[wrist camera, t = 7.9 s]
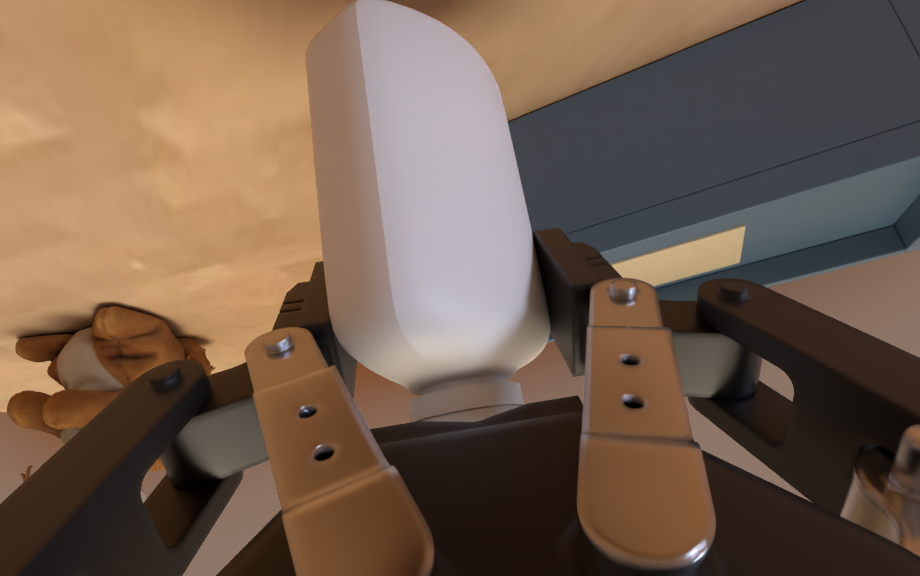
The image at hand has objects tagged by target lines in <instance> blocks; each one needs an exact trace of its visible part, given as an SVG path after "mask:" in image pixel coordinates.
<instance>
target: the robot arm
mask: <svg viewBox="0 0 920 576" xmlns="http://www.w3.org/2000/svg"><path fill="white" fill-rule="evenodd" d="M532 235H533V239H534V244H535V248H536V253H537V257H538V262H539V267H540V271H541V276H542V281H543V286H544V291H545V296H546V301H547V306H548V311H549V318H550V333H551V335H552V337H553V339H554V340H555V342H556V344H557V346H558V348H559V350H560V352H561V354H562V356H563V358H564V360H565V361H566V363H567V365H568V367H569V369H570V371H571V373H572V375H573V376H574V377H575V376H580V375H585V379H584V398H583V404H582V402H581V400H580V398H579V396H572V397H566V398H560V399H553V400H548V401H541V402H535V403H530V404H525V405H522V406H520V407H517V408H514V409H511V410H508V411H505V412H503V413H500V414H497V415H494V416H491V417H488V418H486V419H483V420H480V421H475V422H441V421H418V422H412V423H406V424H400V425H394V426H388V427H382V428H376V429H369V428H368V425H367V424H366V422H365V420H364V418H363V416H362V415H361V413H360V411H359V409H358V407H357V405H356V403H355V401H354V400H353V398H354V388H355V377H356V368H357V367H356V366H357V360H356V359H354V358H353V357H352V356H351V355H350V354H348V352H347V351H346V350H345V349H344V348H343V347H342V345H341V344H340V343H339V341H338V339H337V337H336V335H335V333H334V331H333V328H332V323H331V319H330V315H329V308H328V299H327V290H326V281H325V273H324V264H323V261H322V262H316V264H315V267H314V270H313V273H312V276H311V279H310V281H308V282H302V283H298V284H297V285H295V286H294V287H293V288H292V289H291V290H290V291H289V292H287V294H286V296H285V299H284V301H283V305H282V307H281V309H280V313H279V314H278V317H277V319H276V322H275V325H274V327H273V330H272V331H270V332H268V333H265V334H263V335H261V336H259V337H258V338H256V339H255V340H253V341H252V342H251V343H250V344H249V345H248V346H247V348H246V349H245V358H246V362H245V363H243V364H241V365H239V366H236V367H234V368H231V369H228V370H225V371H222V372H219V373H216V374H212V375H209V376H207V374H206V371H205V368H204V366H203V364H202V363H201V362H199V361H197V360H192V359H184V360H176V361H172V362H168V363H165V364H162V365H159V366H157V367H155V368H152V369H150V370H149V371H147V372H145V373H143V374H142V375H141V376H139V377H138V378H137V379H135V380H134V381H133V382H132V383H131V384H130V385H129V386H128V387H127V388H126V389H125V390H124V391H122V392H121V393H120V394H119V395H118V396H117V397H116V398H115V399H114V400H113V401H112V402H110V403H109V404H108V405H107V406H106V407H105V408H104V409H103V410H102V411H101V412H100V413H99V414H97V415H96V416H95V417H94V418H93V419H92V420H91V421H90V422H89V423H88V424H87V425H86V426H84V427H83V428H82V429H81V430H80V431H79V432H78V433H77V434H76V435H75V436H74V437H73V438H71V439H70V440H69V441H68V442H67V443H66V444H65V445H64V446H63V447H62V448H61V449H60V450H59V451H57V453H55V454H54V455H53V456H52V457H51V458H50V459H49V460H48V461H46V462H45V463H44V464H43V465H42V466H41V467H40V468H39V469H38V470H37V471H36V472H35V473H33V474H32V475H31V476H30V477H29V478H28V479H27V480H26V481H25V482H24V483H23V484H22V485H20V486H19V487H18V488H17V489H16V490H15V491H14V492H13V493H12V494H11V495H10V496H9V497H8V498H6V499H5V500H4V501H3V502H2V503H1V504H0V576H182V575H183V573H184V572H185V570H186V569H187V567H188V566H189V564H190V562H191V560H192V559H193V557H194V556H195V554H196V553H197V551H198V549H199V548H200V546H201V545H202V543H203V542H204V540H205V538H206V537H207V535H208V534H209V532H210V530H211V529H212V527H213V525H214V524H215V522H216V521H217V519H218V518H219V516H220V514H221V513H222V511H223V510H224V508H225V506H226V505H227V503H228V502H229V500H230V498H231V497H232V495H233V494H234V492H235V490H236V489H237V487H238V486H239V484H240V482H241V480H242V478H243V470H245V469H247V468H249V467H252V466H255V465H257V464H259V463H262V462H264V461H267V460H269V461H270V465H271V469H272V473H273V477H274V481H275V485H276V489H277V493H278V497H279V501H280V505H281V510H280V511H279V512H278V514H276V516H274V517H273V518H272V520H271V521H270V522H269V523H268V524H267V525H266V526H265V527H264V528H263V529H262V530H261V531H260V532H259V533H258V534H257V535H256V536H255V537H254V538H253V539H252V540H251V541H250V542H249V543H248V544H247V545H246V546H245V547H244V548H243V549H242V550H241V551H240V552H239V553H238V554H237V555H236V556H235V557H234V558H233V559H232V560H231V561H230V562H229V563H228V564H227V565H226V566H225V567H224V568H223V569H222V570H221V571H220V572H219V573H218V574H217V575H216V576H920V358H919V357H917V356H915V355H912V354H910V353H908V352H906V351H903V350H901V349H899V348H897V347H895V346H893V345H890V344H888V343H886V342H884V341H882V340H880V339H877V338H875V337H873V336H871V335H869V334H867V333H864V332H862V331H860V330H858V329H856V328H853V327H851V326H849V325H847V324H845V323H843V322H840V321H838V320H836V319H834V318H832V317H830V316H827V315H825V314H823V313H821V312H819V311H816V310H814V309H812V308H809V307H808V306H806V305H803V304H801V303H799V302H797V301H795V300H792V299H790V298H788V297H786V296H784V295H782V294H779V293H777V292H775V291H773V290H771V289H769V288H766V287H764V286H762V285H760V284H757V283H755V282H751V281H748V280H743V279H735V278H719V279H713V280H709V281H706V282H704V283H702V284H701V285H700V286H699V287H698V291H697V301H668V300H659V299H658V295H657V291H656V289H655V288H654V287H653V286H652V285H651V284H649V283H647V282H645V281H642V280H638V279H632V278H623V277H622V276H621V275H620V274H619V273H618V272H617V271H616V270H615V269H614V268H613V267H612V266H611V265H610V264H609V262H608V261H607V260H606V259H605V258H603V256H602V255H601V254H600V253H599V252H598V251H597V249H596V248H594V247H592V246H589V245H587V244H585V243H582V242H577V243H572V242H571V241H570V240H569V238H568V237H567V236H566V235H565V234H564V233H563V231H562V230H561V229H560V228H552V229H545V230H538V231H532ZM762 358H764V359H765V360H767V361H769V362H770V363H772V364H774V365H775V366H777V367H779V368H780V369H782V370H783V371H784V372H785V373H786V374H787V375H788V377H789V378H790V380H791V382H792V384H793V387H794V398H793V402H792V401H790V400H789V399H787V398H785V397H784V396H782V395H780V394H779V393H778V392H776V391H775V390H773V389H771V388H770V387H768V386H767V385H765V384H764V383H762V382H761V381H759V375H760V369H761V363H762ZM685 396H687V397H688V400H689V403H690V404H691V405H692V406H693V407H694V408H695V409H696V410H697V411H699V412H700V413H701V414H702V415H704V416H705V417H706V418H708V419H709V420H710V421H711V422H712V423H714V424H715V425H716V426H717V427H719V428H720V429H721V430H722V431H724V432H725V433H726V434H727V435H729V436H730V437H731V438H732V439H734V440H735V441H736V442H737V443H739V444H740V445H741V446H742V447H744V448H745V449H746V450H747V451H749V452H750V453H751V454H752V455H754V456H755V457H756V458H757V459H759V460H760V461H761V462H763V463H764V464H765V465H766V466H768V467H769V468H770V469H771V470H773V471H774V472H775V473H776V474H778V475H779V476H780V477H781V478H783V479H784V480H785V481H786V482H788V483H789V484H790V485H791V486H793V487H794V488H795V489H796V490H798V491H799V492H800V493H801V494H803V495H804V496H805V497H806V498H808V499H809V500H810V501H812V502H813V503H812V502H810V501H808V500H806V499H803V498H801V497H799V496H797V495H795V494H793V493H791V492H789V491H787V490H785V489H782V488H780V487H778V486H776V485H774V484H772V483H770V482H768V481H766V480H764V479H762V478H759V477H757V476H755V475H753V474H751V473H749V472H747V471H745V470H743V469H741V468H739V467H736V466H734V465H732V464H730V463H728V462H726V461H724V460H722V459H720V458H718V457H716V456H713V455H711V454H709V453H707V452H705V451H703V450H701V448H700V445H699V444H698V443H697V442H695V441H694V439H693V436H692V430H691V426H690V421H689V416H688V411H687V406H686V401H685ZM158 458H160V460H161V462H162V464H163V466H164V469H165V471H166V473H167V474H166V475H165V477H164V478H163V479H162V480H161V482H160V483H159V484H158V485H157V487H156V488H155V489H154V491H153V492H152V493H151V494H150V496H149V497H148V498H147V499H146V500H145V502H144V503H143V502H142V499H141V485H142V481H143V479H144V476H145V474H146V473H147V471H148V470H149V469H150V468H151V466H152V465H153V464H154V463H155V462H156V460H157V459H158Z"/></svg>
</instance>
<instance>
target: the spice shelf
mask: <svg viewBox="0 0 920 576" xmlns="http://www.w3.org/2000/svg"><path fill="white" fill-rule="evenodd" d="M508 126H509V131H510V135H511V140H512V144H513V149H514V153H515V157H516V162H517V166H518V171H519V175H520V180H521V184H522V189H523V193H524V198H525V202H526V207H527V211H528V216H529V220H530V225H531V230H532V231H538V230H545V229H552V228H560V229H561V230H562V231H563V233H564V234H565V235H566V236H567V237H568V238H569V240H570V241H571V242H572V243H577V242H582V243H585V244H587V245H589V246H592V247H594V248H596V249H597V251H598V252H599V253H600V254H601V255H602V256H603V258H605V259H606V260H607V261H608V262H609V264H610V265H611V266H612V267H613V268H614V269H615V270H616V271H617V272H618V273H619V274H620V275H621V276H622V277H623V278H632V279H638V280H642V281H645V282H647V283H649V284H651V285H652V286H653V287H654V288H655V289H656V291H657V295H658V299H659V300H668V301H697V291H698V287H699V286H700V285H701V284H702V283H704V282H706V281H709V280H713V279H719V278H735V279H743V280H748V281H751V282H755V283H757V284H760V285H762V286H764V287H766V288H767V287H771V286H775V285H779V284H783V283H787V282H791V281H795V280H799V279H803V278H807V277H811V276H815V275H819V274H823V273H827V272H831V271H835V270H839V269H842V268H846V267H851V266H855V265H858V264H863V263H867V262H870V261H874V260H878V259H882V258H886V257H890V256H894V255H898V254H901V253H906V252H910V251H914V250H918V249H920V0H805V1H803V2H800V3H798V4H796V5H793V6H791V7H788V8H786V9H783V10H781V11H779V12H776V13H774V14H771V15H769V16H766V17H764V18H761V19H759V20H757V21H754V22H752V23H749V24H747V25H744V26H742V27H740V28H737V29H735V30H732V31H730V32H727V33H725V34H722V35H720V36H718V37H715V38H713V39H710V40H708V41H705V42H703V43H701V44H698V45H696V46H693V47H691V48H688V49H686V50H683V51H681V52H679V53H676V54H674V55H671V56H669V57H666V58H664V59H662V60H659V61H657V62H654V63H652V64H649V65H647V66H645V67H642V68H640V69H637V70H635V71H632V72H630V73H627V74H625V75H623V76H620V77H618V78H615V79H613V80H610V81H608V82H606V83H603V84H601V85H598V86H596V87H593V88H591V89H588V90H586V91H584V92H581V93H579V94H576V95H574V96H571V97H569V98H567V99H564V100H562V101H559V102H557V103H554V104H552V105H549V106H547V107H545V108H542V109H540V110H537V111H535V112H532V113H530V114H528V115H525V116H523V117H520V118H518V119H515V120H513V121H511V122H508ZM553 341H555V340H554V339H553V337H552V335H551V333H550V335H549V338H548V341H547V343H549V342H553Z"/></svg>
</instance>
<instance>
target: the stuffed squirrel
mask: <svg viewBox="0 0 920 576" xmlns="http://www.w3.org/2000/svg"><path fill="white" fill-rule="evenodd" d="M205 351H206V350H205V349H203V348H201V347H200V345H198V344H197V342H196V341H193V340H190V339H187V338H176V337H175V336H174V335H173V333H172V332H171V331H170V329H169V327H168V325H167V324H166V323H165V322H164V321H163V320H161V319H159V318H157V317H154V316H151V315H148V314H144V313H141V312H137V311H134V310H129V309H125V308H122V307H119V306H112V307H104V308H101V309H100V310H99V311H98V312H97V313H96V316H95V318H94V323H93V327H90V328H86V329H83V330H80V331H78V332H76V333H75V334H74V335H73V334H58V335H47V336H36V337H25V338H21V339H19V340H18V342H17V343H16V353H17V354H18V355H19V356H20V357H22V358H23V359H26V360H30V361H33V362H44V361H52V362H51V364H50V366H49V367H48V371H47V372H48V375H49V376H50V377H51V378H53V379H54V380H55V381H56V382H58V383H59V384H60V385H62V386H63V387H64V388H65V389H66V390H63V391H60V392H56V393H54V394H53V395H52V396H50V395H48V394H45V393H42V392H35V391H23V392H21V393H18V394H15V395H14V396H13V397H11V398H10V400H9V403H8V406H7V413H8V415H9V417H10V418H11V419H12V420H13V422H14V423H15V424H16V425H17V426H19V427H23V428H29V429H34V430H39V431H43V432H47V433H50V434H53V435H55V436H57V437H58V438H61V439H62V441H63V442H64V443H65V444H66V443H67V442H68V441H69V440H70V439H71V438H73V437H74V436H75V435H76V434H77V433H78V432H79V431H80V430H81V429H82V428H83V427H84V426H86V425H87V424H88V423H89V422H90V421H91V420H92V419H93V418H94V417H95V416H96V415H97V414H99V413H100V412H101V411H102V410H103V409H104V408H105V407H106V406H107V405H108V404H109V403H110V402H112V401H113V400H114V399H115V398H116V397H117V396H118V395H119V394H120V393H121V392H122V391H124V390H125V389H126V388H127V387H128V386H129V385H130V384H131V383H132V382H133V381H134V380H135V379H137V378H138V377H139V376H141V375H142V374H143V373H145V372H147V371H149V370H150V369H152V368H155V367H157V366H159V365H162V364H165V363H168V362H172V361H176V360H184V359H192V360H197V361H199V362H201V363H202V364H203V366H204V368H205V371H206V374H207V376H209V375H210V374H211V371H212V370H214V369H215V367H214V368H213V366H210V362H209V361H208V359H207V358H206V355H205ZM31 468H32V466H31V465H30V466H28V467H27V470H26V475H25V474H20V475H21V476H22V478H23V481H24V482H25V481H26V480H27V479H28V478H29V475H30V470H31ZM157 470H163V471H165V469H164V466H163V464H162V462H161V460H160V458H158V459H157V460H156V462H155V463H154V464H153V465H152V466H151V468H150V469H149V471H154V472H156V471H157ZM141 499H142V502H143V503H144V502H145V500H146V499H147V496H146V495H145V494H144V492H143V490H142V489H141Z"/></svg>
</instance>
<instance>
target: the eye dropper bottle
mask: <svg viewBox="0 0 920 576" xmlns="http://www.w3.org/2000/svg"><path fill="white" fill-rule="evenodd" d="M306 69H307V81H308V93H309V105H310V117H311V129H312V140H313V152H314V164H315V175H316V187H317V198H318V209H319V220H320V231H321V242H322V253H323V264H324V273H325V281H326V290H327V299H328V308H329V315H330V319H331V323H332V328H333V331H334V333H335V335H336V337H337V339H338V341H339V343H340V344H341V345H342V347H343V348H344V349H345V350H346V351H347V352H348V354H350V355H351V356H352V357H353V358H354V359H356V360H357V361H358V362H360V363H361V364H363V365H364V366H366V367H367V368H369V369H370V370H372V371H374V372H375V373H377V374H379V375H381V376H383V377H385V378H387V379H389V380H391V381H393V382H396V383H398V384H400V385H402V386H404V387H405V388H406V389H408V390H409V391H410V392H411V393H413V394H415V395H421V396H419V397H416V398H414V399H412V400H410V401H409V402H408V408H409V416H410V423H412V422H418V421H441V422H475V421H480V420H483V419H486V418H488V417H491V416H494V415H497V414H500V413H503V412H505V411H508V410H511V409H514V408H517V407H520V406H522V405H524V402H523V397H522V392H521V387H520V384H519V383H516V382H505V381H507V380H509V379H510V378H512V377H513V376H514V374H515V372H516V371H517V369H519V368H521V367H523V366H524V365H526V364H528V363H529V362H531V361H532V360H533V359H535V358H536V357H537V356H538V355H539V354H540V353H541V351H542V350H543V349H544V347H545V345H546V343H547V341H548V338H549V335H550V318H549V311H548V306H547V301H546V296H545V291H544V286H543V281H542V276H541V271H540V267H539V262H538V257H537V253H536V248H535V244H534V239H533V235H532V230H531V225H530V220H529V216H528V211H527V207H526V202H525V198H524V193H523V189H522V184H521V180H520V175H519V171H518V166H517V162H516V157H515V153H514V149H513V144H512V140H511V135H510V131H509V126H508V122H507V117H506V113H505V108H504V104H503V100H502V96H501V93H500V90H499V87H498V85H497V82H496V80H495V78H494V76H493V74H492V72H491V70H490V69H489V67H488V66H487V64H486V62H485V61H484V60H483V58H482V57H481V56H480V55H479V53H478V52H477V51H476V50H475V49H474V48H473V47H472V46H471V45H470V44H469V43H468V42H467V41H466V40H465V39H464V38H463V37H461V36H460V35H459V34H458V33H456V32H455V31H454V30H452V29H451V28H449V27H448V26H446V25H444V24H443V23H441V22H439V21H438V20H436V19H434V18H432V17H430V16H428V15H426V14H424V13H421V12H419V11H417V10H414V9H412V8H409V7H406V6H403V5H400V4H397V3H394V2H391V1H387V0H355V1H353V2H352V3H350V4H348V5H347V6H346V7H345V8H344V9H343V10H341V11H340V12H339V13H338V14H337V15H336V16H335V17H334V18H333V19H332V20H331V21H330V22H329V23H328V24H327V25H326V26H325V27H324V28H323V29H322V30H321V31H320V32H319V33H318V34H317V35H316V36H315V37H314V38H313V39H312V40H311V42H310V44H309V46H308V49H307V51H306Z"/></svg>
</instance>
